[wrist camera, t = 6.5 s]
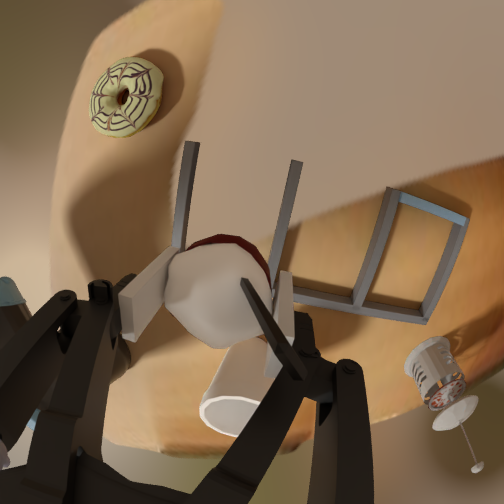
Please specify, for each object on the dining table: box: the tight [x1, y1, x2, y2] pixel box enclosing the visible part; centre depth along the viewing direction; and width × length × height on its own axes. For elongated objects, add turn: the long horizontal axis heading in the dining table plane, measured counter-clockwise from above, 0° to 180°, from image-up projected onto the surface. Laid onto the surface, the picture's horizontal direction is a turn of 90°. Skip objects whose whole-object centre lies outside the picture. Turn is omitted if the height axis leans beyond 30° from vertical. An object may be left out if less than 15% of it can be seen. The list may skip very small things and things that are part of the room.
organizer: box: [171, 141, 470, 325], centre depth 32 cm, size 37×17×2 cm, turn 79°
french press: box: [404, 336, 484, 473], centre depth 27 cm, size 10×12×25 cm
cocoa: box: [164, 234, 308, 381], centre depth 14 cm, size 10×6×12 cm, turn 100°
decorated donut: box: [89, 57, 164, 138], centre depth 27 cm, size 10×11×4 cm
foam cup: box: [199, 337, 274, 437], centre depth 34 cm, size 10×9×13 cm
